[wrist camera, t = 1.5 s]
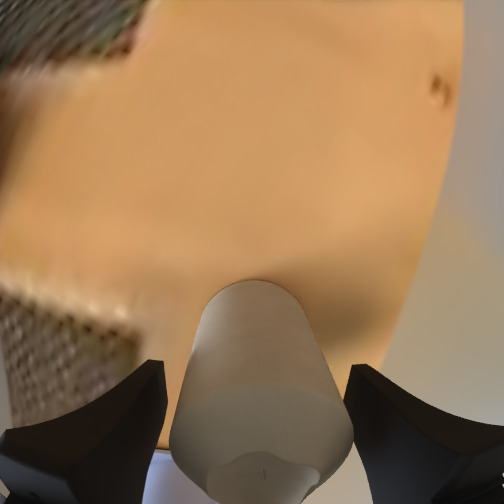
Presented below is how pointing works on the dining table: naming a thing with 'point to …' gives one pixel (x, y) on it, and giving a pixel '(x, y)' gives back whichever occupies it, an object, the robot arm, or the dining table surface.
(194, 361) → the candle
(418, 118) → the dining table surface
